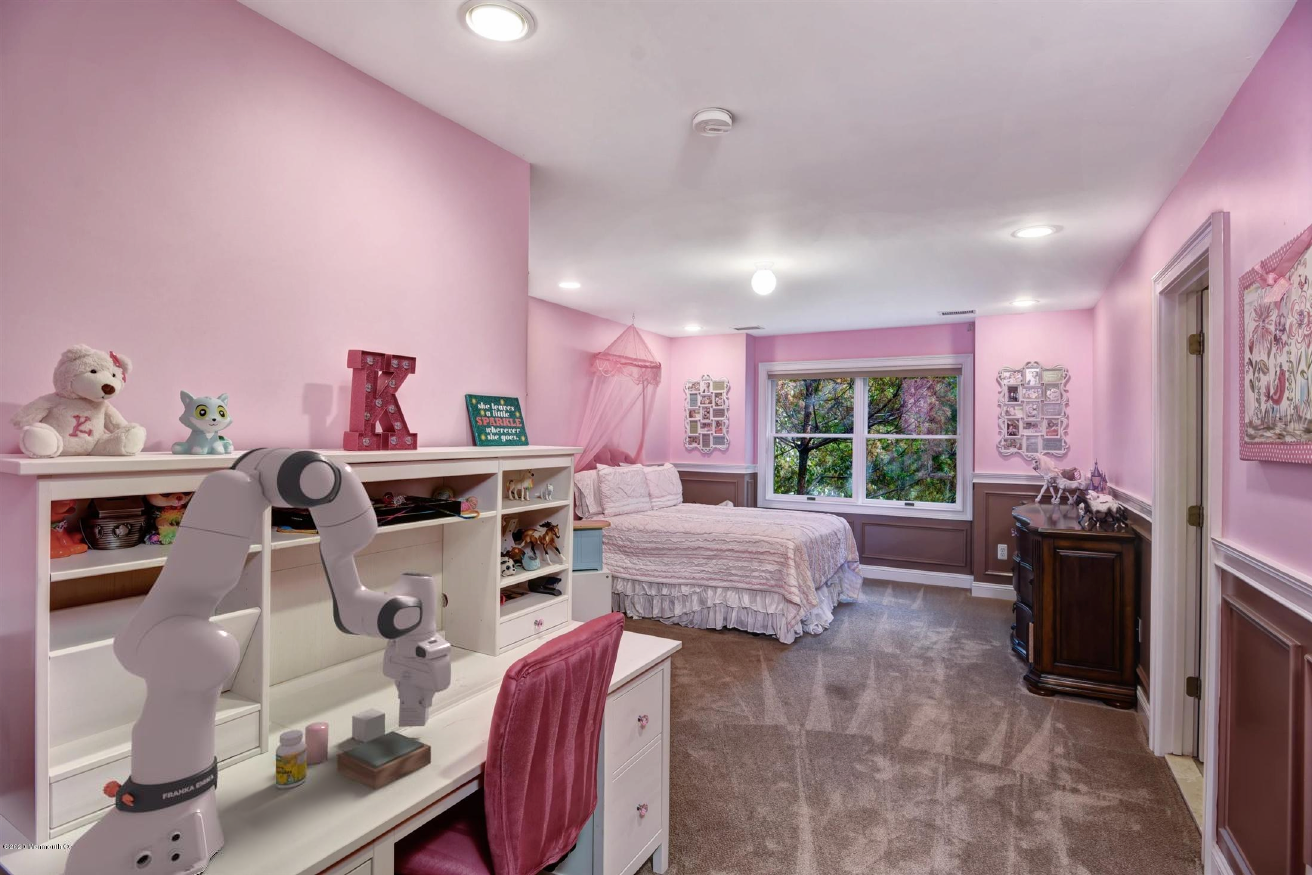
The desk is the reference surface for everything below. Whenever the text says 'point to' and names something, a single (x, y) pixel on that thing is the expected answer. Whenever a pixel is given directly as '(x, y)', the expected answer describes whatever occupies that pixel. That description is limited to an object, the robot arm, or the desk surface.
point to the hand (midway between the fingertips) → (414, 702)
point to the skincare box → (411, 703)
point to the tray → (383, 759)
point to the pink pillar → (316, 742)
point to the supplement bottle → (291, 760)
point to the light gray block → (368, 725)
